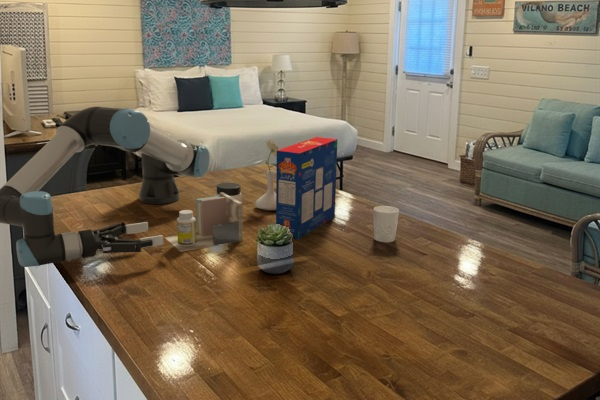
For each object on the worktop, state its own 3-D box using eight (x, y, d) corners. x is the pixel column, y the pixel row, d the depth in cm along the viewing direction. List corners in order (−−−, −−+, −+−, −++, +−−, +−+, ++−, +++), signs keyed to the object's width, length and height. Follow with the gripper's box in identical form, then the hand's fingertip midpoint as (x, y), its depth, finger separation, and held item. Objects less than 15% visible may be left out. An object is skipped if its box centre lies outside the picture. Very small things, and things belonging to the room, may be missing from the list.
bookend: (213, 244, 184) (212, 225, 183) (237, 240, 188) (237, 221, 187) (214, 245, 183) (214, 226, 182) (238, 241, 187) (238, 222, 186)
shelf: (164, 241, 190) (162, 200, 186) (223, 231, 200) (223, 192, 196) (180, 255, 178) (179, 212, 175) (242, 244, 188) (242, 203, 185)
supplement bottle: (188, 239, 188) (187, 207, 185) (200, 244, 184) (199, 211, 182) (173, 244, 184) (172, 211, 181) (185, 248, 180) (184, 215, 177)
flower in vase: (288, 212, 221) (289, 144, 214) (256, 213, 219) (256, 144, 212) (283, 202, 233) (283, 137, 226) (253, 203, 231) (253, 138, 224)
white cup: (398, 236, 198) (400, 207, 195) (394, 244, 191) (396, 214, 188) (375, 233, 200) (376, 204, 197) (369, 241, 193) (371, 211, 190)
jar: (246, 220, 211) (245, 186, 208) (226, 224, 206) (225, 190, 203) (231, 213, 218) (231, 181, 215) (212, 217, 213) (211, 184, 210)
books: (197, 232, 195) (196, 197, 192) (220, 228, 199) (219, 193, 196) (203, 236, 191) (202, 201, 187) (226, 232, 195) (226, 197, 192)
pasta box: (314, 213, 220) (316, 136, 213) (334, 217, 217) (337, 139, 209) (275, 235, 197) (276, 150, 189) (297, 240, 193) (299, 153, 185)
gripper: (70, 243, 178) (142, 232, 189) (90, 273, 158) (170, 258, 169) (68, 219, 176) (141, 209, 187) (88, 245, 156) (169, 233, 167)
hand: (155, 232), depth 178 cm, fingers open, 13 cm apart
